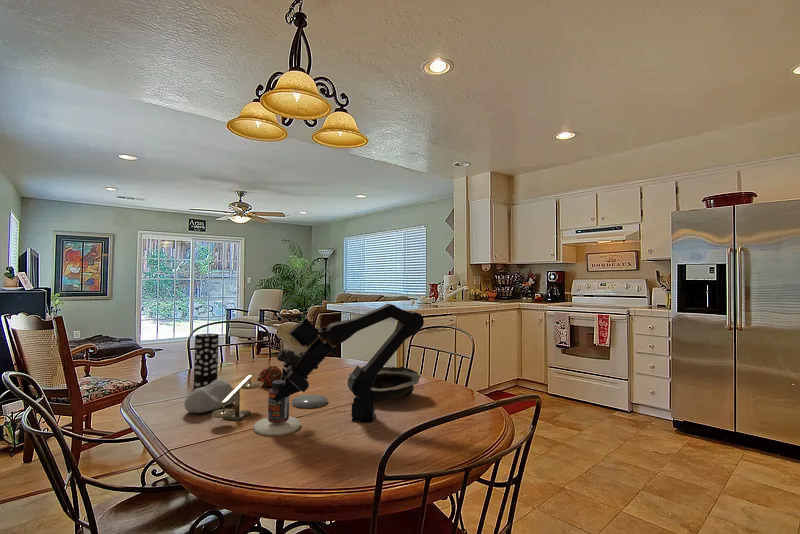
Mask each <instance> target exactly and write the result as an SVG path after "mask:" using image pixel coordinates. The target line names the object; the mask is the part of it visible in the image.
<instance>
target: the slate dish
mask: <svg viewBox="0 0 800 534" xmlns="http://www.w3.org/2000/svg"><path fill="white" fill-rule="evenodd" d="M291 404H292V405H291V406H293V407H296V408H300V409H314V408H320V407H323V406H326V405H327V404H328V398H327V397H326V396H323V395H318V394H306V395H299V396H296V397H294V398H292V400H291Z"/></svg>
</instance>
